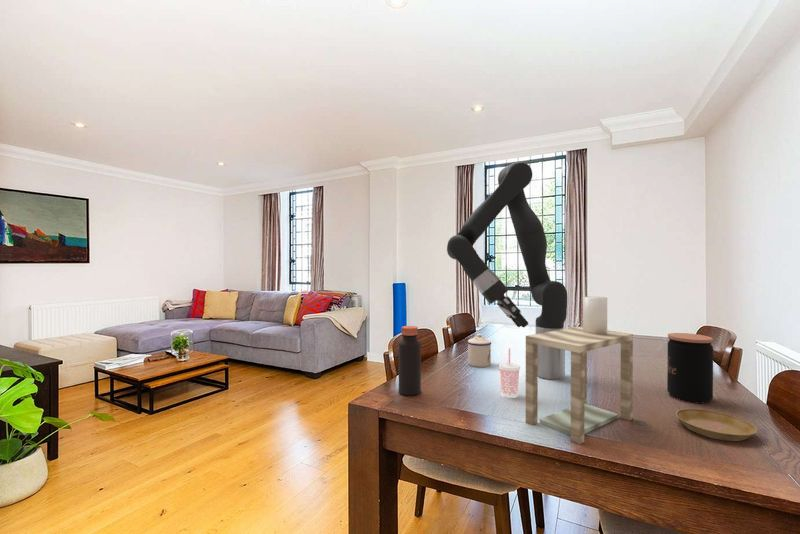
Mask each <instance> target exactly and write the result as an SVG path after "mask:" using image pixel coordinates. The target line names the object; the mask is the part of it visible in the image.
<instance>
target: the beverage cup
mask: <svg viewBox="0 0 800 534" xmlns="http://www.w3.org/2000/svg"><path fill="white" fill-rule="evenodd" d="M498 368H499V375H500V378H499V379H500V391H501V393H500V394H501V396H502V397H503V398H508V399H514V398H515V399H516V398H517V397H518V396H519V395H518V393H519V377H520V370H521V365H519V364H518V363H514V362H511V348H508V362H502V363H499V364H498Z"/></svg>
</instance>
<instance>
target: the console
mask: <svg viewBox="0 0 800 534" xmlns="http://www.w3.org/2000/svg"><path fill="white" fill-rule="evenodd" d="M618 344H620V391H619V392H620V394H619V395H620V400H619V401H620V402H619V403H620V404H619V405H620V413H619V414H618V413H616V412H613V411H609V410H606V409H604V408H599V407H597V406H594V405H591V404H588V403H587V402H588V401H587V400H588V399H587V398H588V394H587V392H588V389H587V388H588V385H587V384H588V381H587V380H588V379H587V378H588V374H587V373H588V372H587V371H588V351H589V352H590V351H593V350H598V349H602V348H606V347H609V346H610V347H611V346H614V345H618ZM538 345H543V346H548V347H553V348H558V349H563V350H565V351H568V352H569V351H570V407H568V408H565V409H563V410H560V411H558V412H555V413H552V414H550V415H546V416H544V417H541V418H539V424H541V425H542V426H543V425H544V426H546V427H549V428H551V429H554V430H556V431H558V432H562V433H563V434H566V435H569V436H570V442H572V443H575V444H577V445H581V444H584V443H585V434H586V433H587V434H588V433H589V432H592V431H593V430H596V429H598V428H600V427H603V426H604V425H607V424H608V423H611V422H613V421H615V420H618V419H619V415H620V419H623V420H625V421H631V420H633V418H634V417H633V416H634V415H633V414H634V413H633V409H634V407H633V406H634V405H633V404H634V403H633V402H634V401H633V400H634V399H633V397H634V395H633V393H634V391H633V390H634V387H633V385H634V382H633V381H634V380H633V379H634V374H633V373H634V372H633V370H634V365H633V364H634V334H633V333H627V332H622V331H621V332H620V331H615V330H614V331H613V330H608V329H607V334H591V333H586V332H583V326H575V327H569V328H564V329H563V330H557V331H551V332H545V333H539V334H536V333H535V334H529V335H525V423H526V424H528V425H531V426H534V425H537V424H538V411H539V409H538V408H539V407H538V396H539V395H538V394H539V393H538V389H539V388H538V387H539V386H538V383H539V381H538V379H539V377H538Z"/></svg>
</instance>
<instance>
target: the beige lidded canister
mask: <svg viewBox="0 0 800 534" xmlns="http://www.w3.org/2000/svg"><path fill="white" fill-rule="evenodd" d="M491 344H492V342H491V340H490V339H487V338H486V337H483V334H481V333H477V334H476V336H474V337H473V338H469V339H468V340H467V363H468V365H469V366H472V367H477V368H485V367H489V366H491V363H492V362H491V361H492V360H491V355H492V354H491V353H492V352H491V351H492V350H491V349H492V348H491V346H492V345H491Z"/></svg>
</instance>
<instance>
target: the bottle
mask: <svg viewBox="0 0 800 534" xmlns="http://www.w3.org/2000/svg"><path fill="white" fill-rule="evenodd" d="M418 331H419V329H418V327H417V326H415V325H404V326H401V337H402V339H401V340H400V341H399V342H398V393H399V394H400V393H401V394H400V395H402V394H403V396H407V395H409V396H408V397H410V396H411V397H412V395H413V396H417V395H420V393H421V392H422V390H421V389H422V387H421V386H422V383H421V382H422V379H421V378H422V377H421V376H422V375H421V374H422V370H421V369H422V367H421V366H422V364H421V361H422V360H421V358H422V357H421V356H422V353H421V350H422V349H421V348H422V347H421V342H420V341H419V340H418V339H417V337H418Z"/></svg>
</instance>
